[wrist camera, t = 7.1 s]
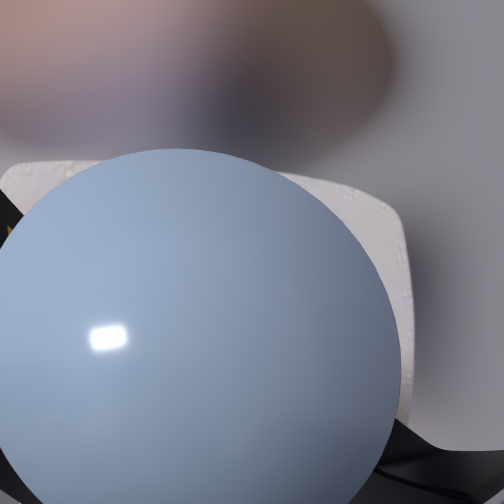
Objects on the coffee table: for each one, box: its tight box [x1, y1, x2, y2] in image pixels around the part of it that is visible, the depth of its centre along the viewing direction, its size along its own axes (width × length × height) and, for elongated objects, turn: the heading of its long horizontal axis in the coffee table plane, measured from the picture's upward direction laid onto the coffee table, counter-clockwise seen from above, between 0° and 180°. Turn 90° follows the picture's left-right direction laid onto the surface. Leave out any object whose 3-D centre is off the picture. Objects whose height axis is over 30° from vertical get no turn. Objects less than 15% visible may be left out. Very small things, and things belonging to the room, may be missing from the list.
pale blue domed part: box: [0, 149, 401, 504], centre depth 8 cm, size 5×5×12 cm
